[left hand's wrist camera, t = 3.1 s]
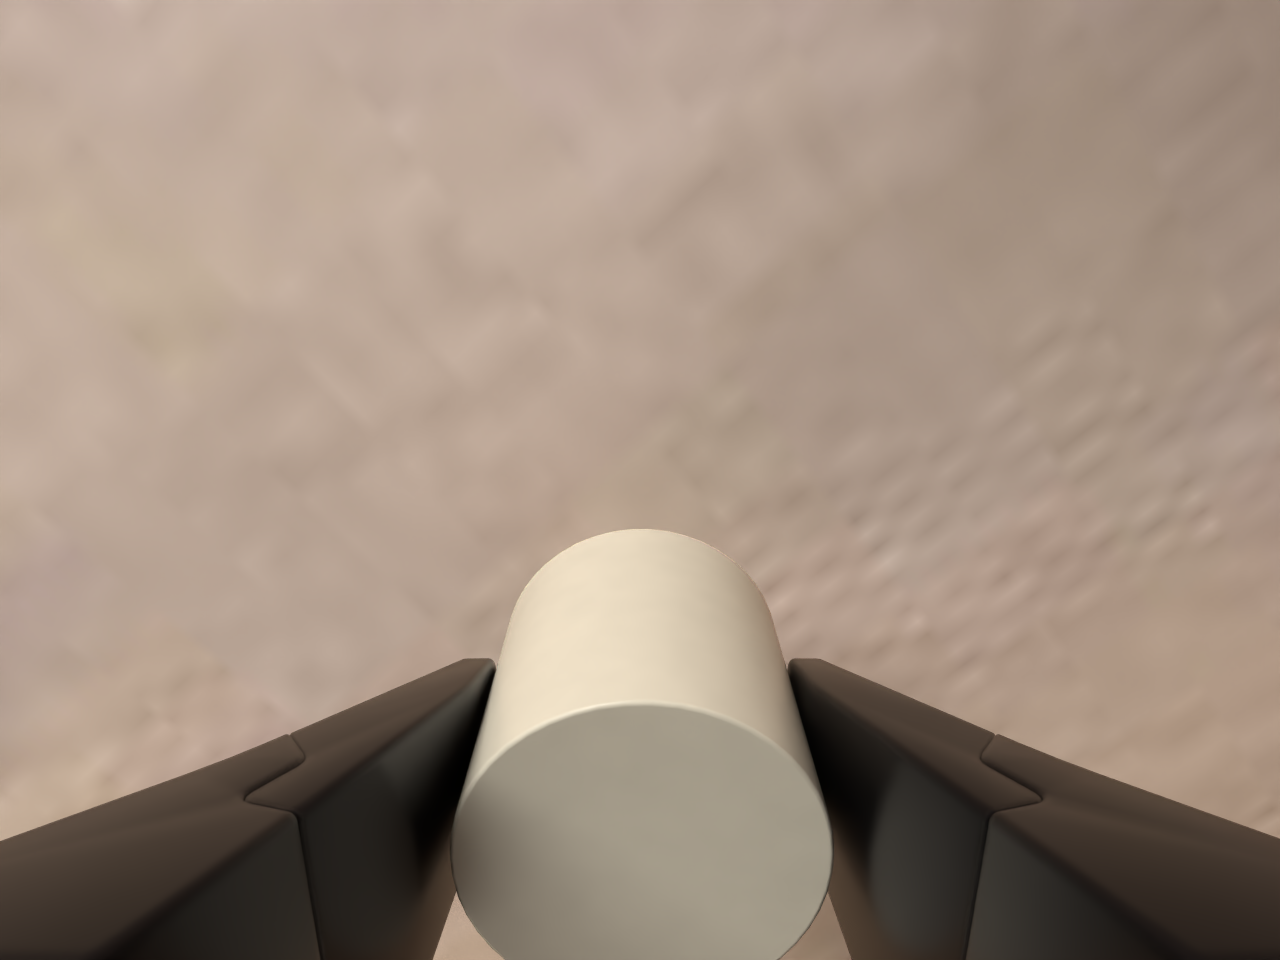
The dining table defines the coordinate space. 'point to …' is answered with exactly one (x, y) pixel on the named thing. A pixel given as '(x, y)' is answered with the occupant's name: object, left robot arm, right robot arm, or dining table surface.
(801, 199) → the dining table surface
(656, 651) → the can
